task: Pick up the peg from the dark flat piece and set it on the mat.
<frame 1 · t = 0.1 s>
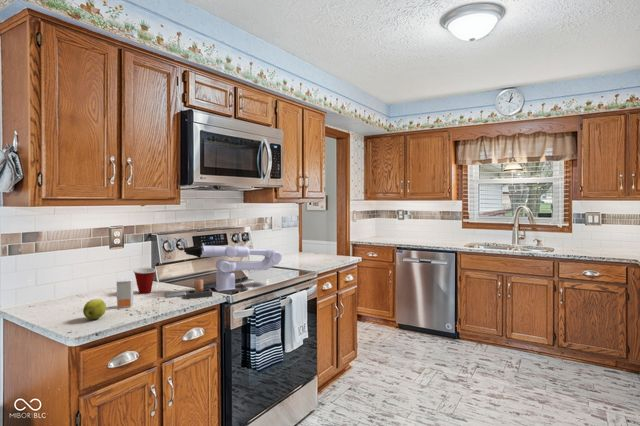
hand: (185, 251, 209), 22 cm above the worktop, tool horizontal, fingers open, 7 cm apart
skincare box: (125, 307, 185), on the worktop
dark flat piece: (199, 296, 203), on the worktop
mat: (175, 294, 206), on the worktop
apple: (95, 319, 167), on the worktop
peg: (199, 296, 203), resting in dark flat piece
plastic cup: (145, 293, 212), on the worktop
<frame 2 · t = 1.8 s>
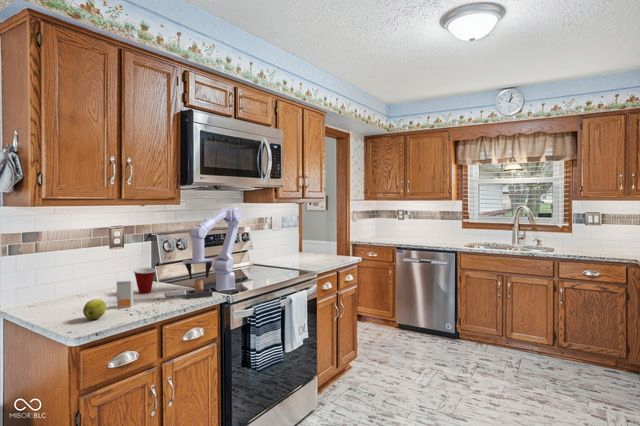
hand: (198, 278, 203), 9 cm above the worktop, tool pointing down, fingers open, 7 cm apart
nothing on the worktop moved.
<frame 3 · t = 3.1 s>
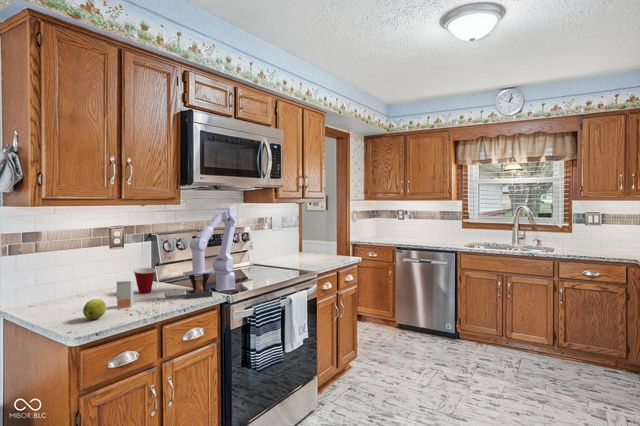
hand: (199, 289, 203), 3 cm above the worktop, tool pointing down, fingers closed on peg, 4 cm apart
peg: (199, 296, 203), resting in dark flat piece, touching gripper
everything else where it was.
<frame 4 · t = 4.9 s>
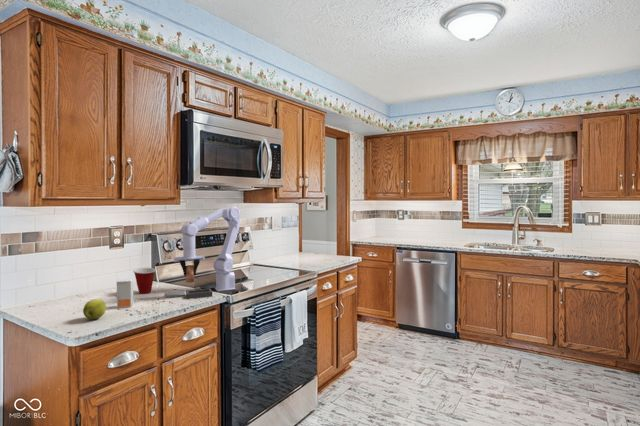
hand: (189, 275, 204), 10 cm above the worktop, tool pointing down, fingers closed on peg, 4 cm apart
peg: (190, 281, 204), point 7 cm above the worktop, touching gripper
everything else where it was.
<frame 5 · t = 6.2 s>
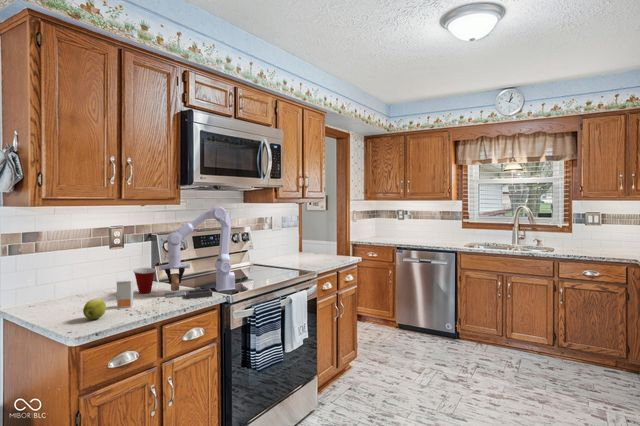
hand: (174, 283, 206), 6 cm above the worktop, tool pointing down, fingers closed on peg, 4 cm apart
peg: (175, 289, 206), point 3 cm above the worktop, touching gripper
everything else where it was.
when the fingers open (5 cm above the worktop, at t = 7.2 s): peg drops 1 cm, resting on mat.
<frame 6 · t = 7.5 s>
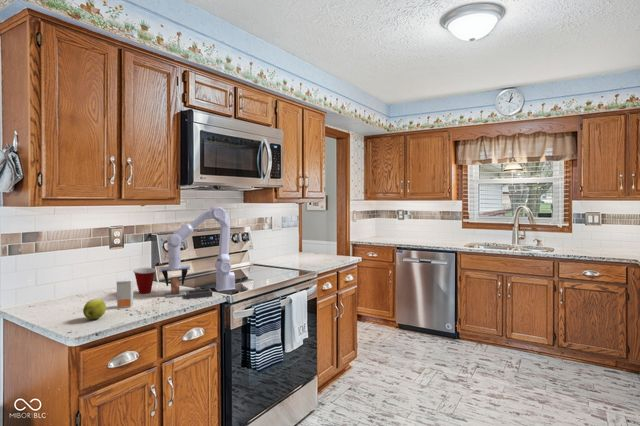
hand: (175, 285, 206), 5 cm above the worktop, tool pointing down, fingers open, 7 cm apart
peg: (175, 293, 206), point 1 cm above the worktop, touching mat
everything else where it was.
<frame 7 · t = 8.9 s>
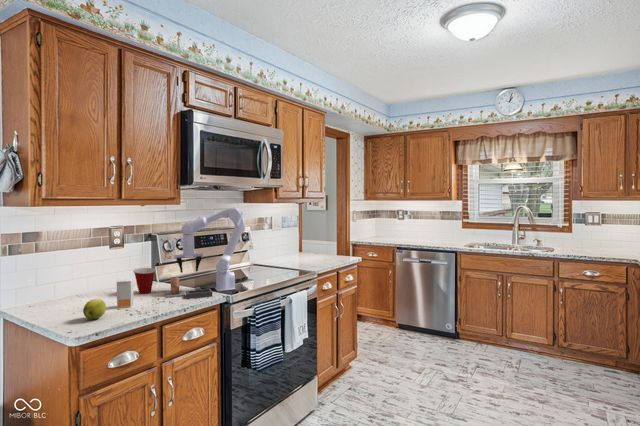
hand: (189, 271, 216), 10 cm above the worktop, tool pointing down, fingers open, 7 cm apart
nothing on the worktop moved.
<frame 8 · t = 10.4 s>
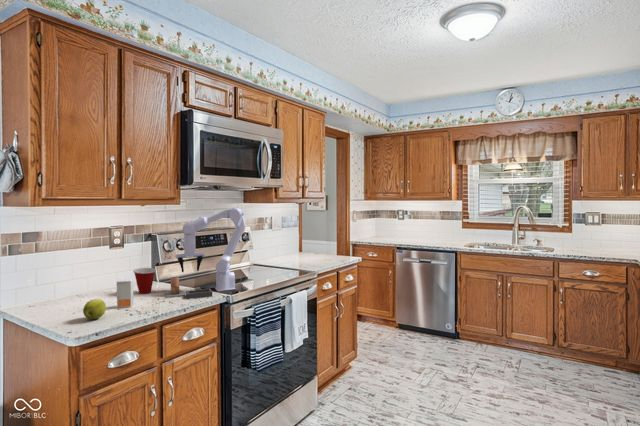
hand: (190, 271, 217), 10 cm above the worktop, tool pointing down, fingers open, 7 cm apart
nothing on the worktop moved.
at the end: peg 0.2 cm off-centre on the mat, point 0.7 cm above the mat's base; peg tilted 2°; the gripper is holding nothing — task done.
